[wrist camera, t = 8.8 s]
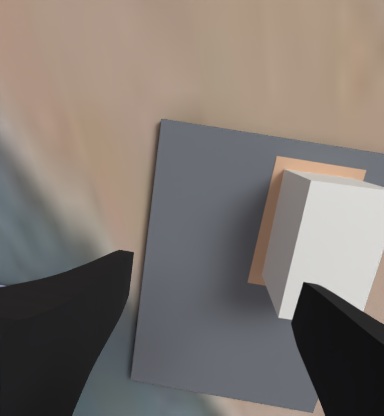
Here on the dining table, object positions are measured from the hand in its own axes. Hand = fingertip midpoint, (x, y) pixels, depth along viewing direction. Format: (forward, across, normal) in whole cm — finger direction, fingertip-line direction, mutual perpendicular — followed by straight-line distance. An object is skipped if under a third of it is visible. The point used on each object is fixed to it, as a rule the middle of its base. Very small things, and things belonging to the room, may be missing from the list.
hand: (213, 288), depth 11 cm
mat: (+9, -4, +4) cm, 11 cm away
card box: (+9, -6, -1) cm, 11 cm away
